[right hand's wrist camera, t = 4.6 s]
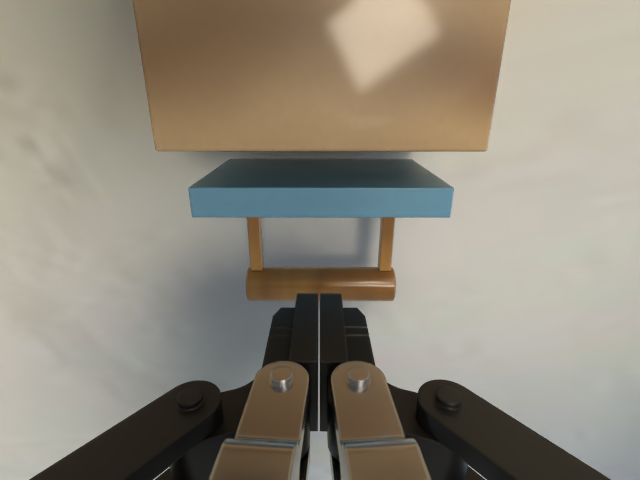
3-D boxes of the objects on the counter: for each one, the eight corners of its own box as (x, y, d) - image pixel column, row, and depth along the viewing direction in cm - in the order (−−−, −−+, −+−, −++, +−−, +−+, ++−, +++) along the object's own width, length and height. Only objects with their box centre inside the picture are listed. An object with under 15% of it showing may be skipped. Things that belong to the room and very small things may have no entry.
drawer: (402, 271, 23) (434, 339, 17) (238, 271, 23) (207, 338, 17) (442, -175, 16) (527, -365, 9) (200, -175, 16) (117, -366, 9)
